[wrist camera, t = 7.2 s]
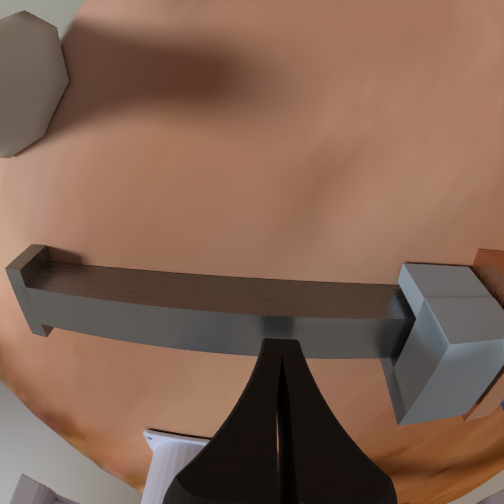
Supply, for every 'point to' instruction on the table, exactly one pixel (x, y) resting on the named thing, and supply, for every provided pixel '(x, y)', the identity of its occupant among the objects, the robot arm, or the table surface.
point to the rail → (230, 310)
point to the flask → (28, 80)
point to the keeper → (445, 344)
